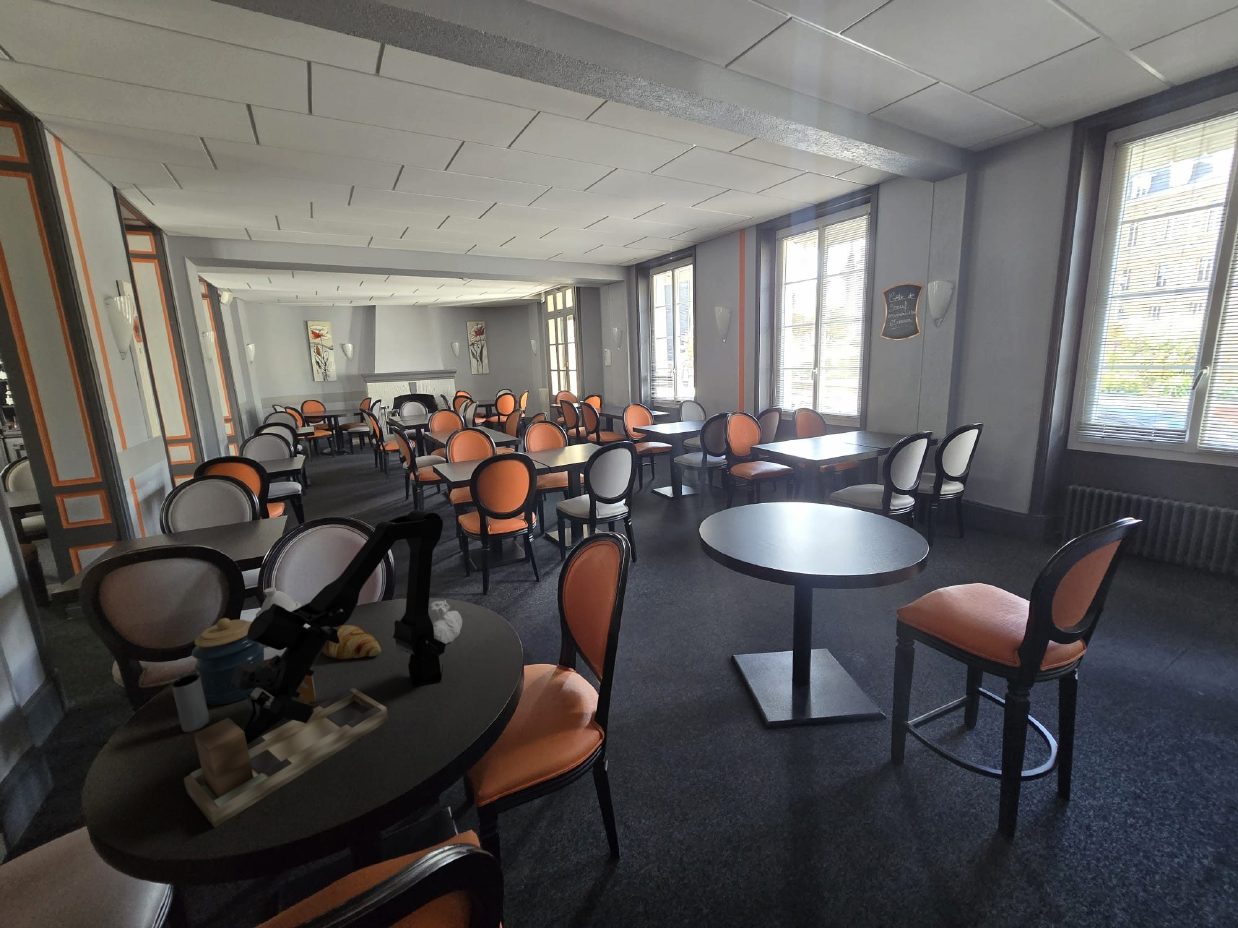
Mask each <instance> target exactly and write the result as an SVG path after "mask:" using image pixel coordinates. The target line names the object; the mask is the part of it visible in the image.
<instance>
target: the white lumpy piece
mask: <svg viewBox="0 0 1238 928" xmlns="http://www.w3.org/2000/svg"><path fill="white" fill-rule="evenodd" d="M446 601H447V600H446V599H444V600H437V601H433V602H432V603H431V604H429V610H428V611H429V614H431V616H432V617H434V616H435V618H434V619H433V621H432V624H433V626H434V638H435V639H437V640H439V641H441V642H443V643H445V644H446V645H447V644H448V643H452V642H454V640H455V639H456V638H457V637H458V636H460V632H461V629H462V628H463V627H462V626H463V618H462V617H461V614H460V613H459V611H457V610H449V609H450V605H449V604H448V602H446Z"/></svg>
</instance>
